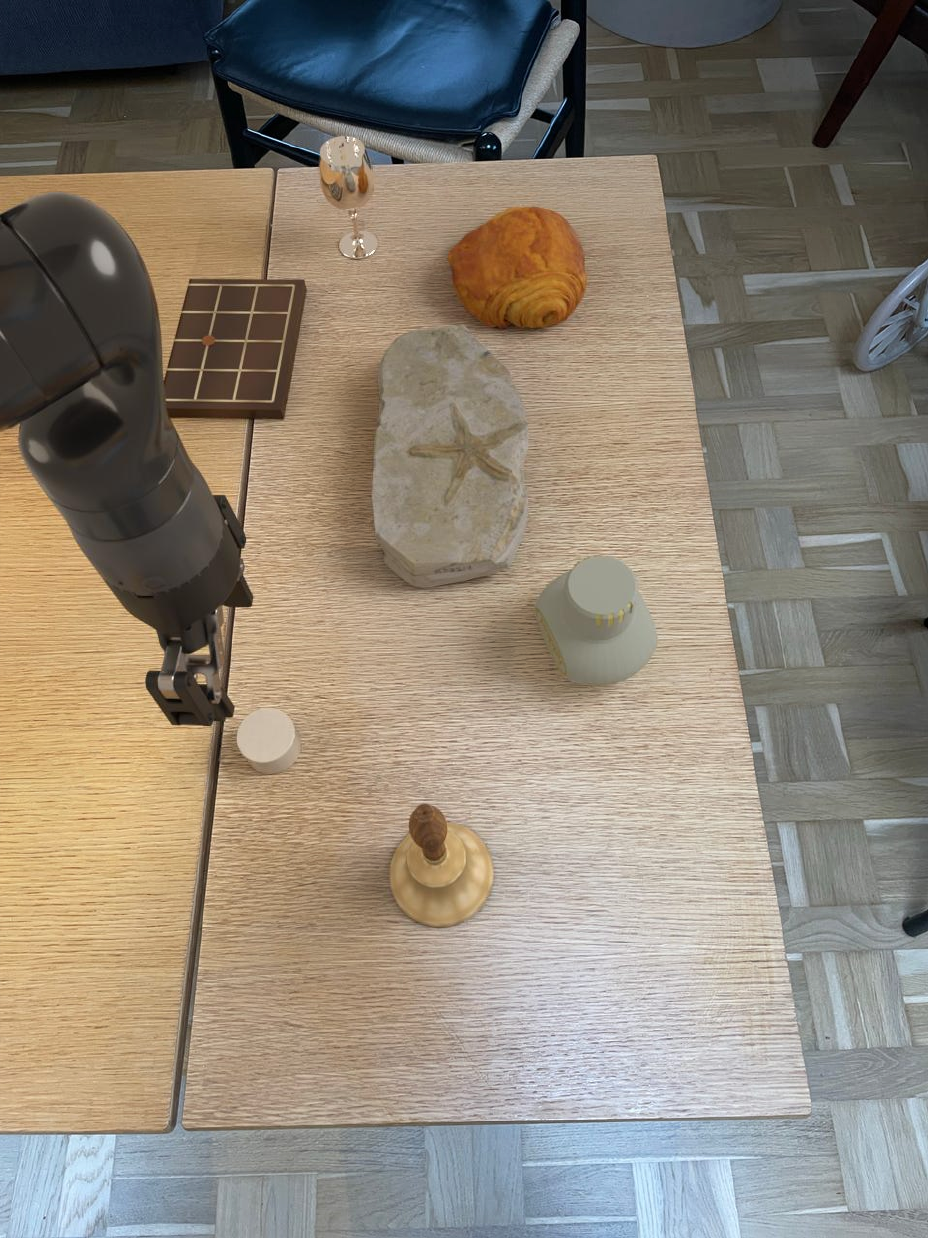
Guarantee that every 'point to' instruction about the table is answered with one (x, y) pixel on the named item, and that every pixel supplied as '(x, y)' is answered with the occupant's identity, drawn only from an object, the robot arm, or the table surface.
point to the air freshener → (596, 622)
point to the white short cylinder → (269, 740)
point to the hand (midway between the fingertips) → (229, 656)
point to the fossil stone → (448, 459)
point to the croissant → (520, 269)
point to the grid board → (235, 349)
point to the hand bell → (440, 870)
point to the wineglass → (348, 188)
